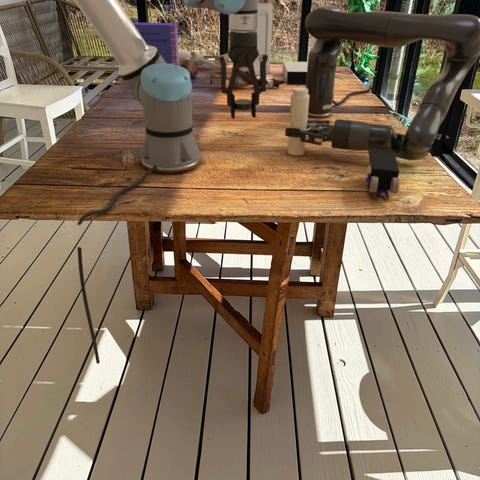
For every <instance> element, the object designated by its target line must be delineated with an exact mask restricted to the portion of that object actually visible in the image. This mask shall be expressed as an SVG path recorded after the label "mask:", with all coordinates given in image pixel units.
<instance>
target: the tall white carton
mask: <svg viewBox="0 0 480 480" xmlns="http://www.w3.org/2000/svg"><path fill="white" fill-rule="evenodd" d="M273 8H274V4H273V3H269V2H267V3H266V2H265V3H264V2H258V8H257V10H258V12H257V29H256V30H255V31H256V32H257V49H258V51H259V53H262V54H264V53H265V54H266V55H267V56H268V59H267V62H266V74H270V73H271V56H272V55H271V54H272V33H273V32H272V31H273V10H274V9H273ZM253 66H254V71H255V75H256V77H257V76H260V61H259V57H257V58H256V60H255V61H254V63H253ZM239 69H240V70H242V71H244V72H245V71H249V69H248V67H242V68H239Z"/></svg>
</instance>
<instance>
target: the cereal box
mask: <svg viewBox="0 0 480 480" xmlns="http://www.w3.org/2000/svg"><path fill="white" fill-rule="evenodd" d="M132 22H133V21H132ZM133 24H134V25H135V27H136V29H137V30H138V32H139V33H140V35H141V36H142V38H143V39H144V41H145V42H146V44H147V45H149V46H153V47H156V48H157V50H158V51H159V53H160V55H161V56H162V58H163V59H164V61H165V62H166V63H167V64H174V65H176V66H179V52H180V51H179V35H178V23H175V22H174V23H171V22H170V23H169V22H133Z"/></svg>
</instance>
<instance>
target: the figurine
mask: <svg viewBox="0 0 480 480" xmlns="http://www.w3.org/2000/svg"><path fill="white" fill-rule="evenodd" d="M232 67H233V66H231V67H230V69H231V70H232ZM215 78H216V79H221V74H213V73H211V74H210V78H209V85H212V84H213V83H214V79H215ZM256 79H257V83H258V87H260V77H257V76H256ZM229 80H230V76H229V75H226V81H229ZM284 84H287V81H286V79H275V78H274V77H272V78H266V87H268V88H271V89H273V88H280V86H281V85H284ZM249 86H253V85H252V81H251V77H250V73H249V71H245V72H244V71H242V70H240V69H239V71H238V73H237V77H236V81H235V85H234V89H241V88H247V87H249Z"/></svg>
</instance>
